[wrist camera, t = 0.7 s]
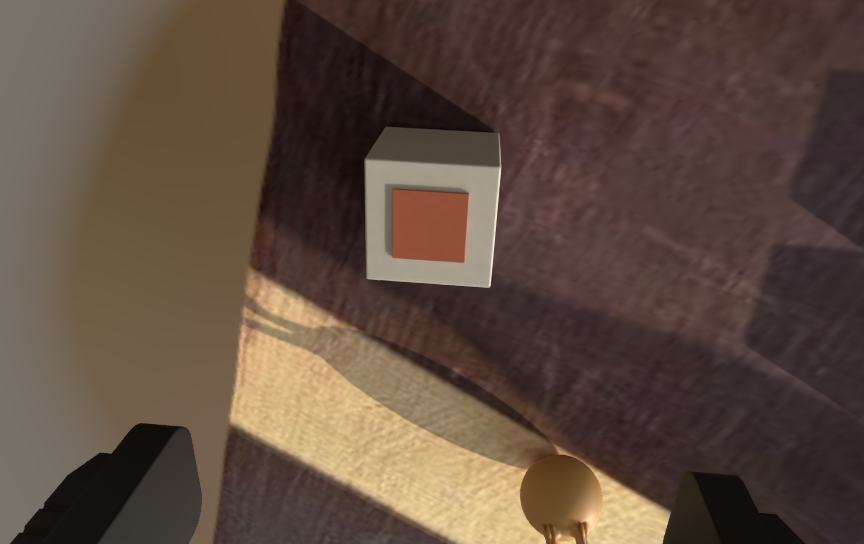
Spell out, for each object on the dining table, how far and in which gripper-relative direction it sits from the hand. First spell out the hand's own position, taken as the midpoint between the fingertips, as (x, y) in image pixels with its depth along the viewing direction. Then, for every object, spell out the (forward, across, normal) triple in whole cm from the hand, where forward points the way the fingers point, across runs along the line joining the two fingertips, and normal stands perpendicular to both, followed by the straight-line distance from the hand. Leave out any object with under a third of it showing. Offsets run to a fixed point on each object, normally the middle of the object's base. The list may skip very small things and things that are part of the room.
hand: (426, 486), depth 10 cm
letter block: (+17, +1, 0) cm, 17 cm away
